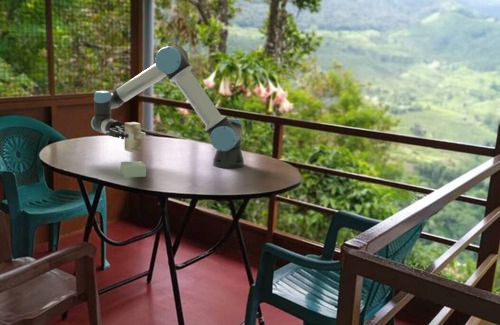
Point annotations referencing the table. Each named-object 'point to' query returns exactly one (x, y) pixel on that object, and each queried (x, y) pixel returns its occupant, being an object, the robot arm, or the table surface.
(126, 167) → the sage block
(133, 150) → the birch block
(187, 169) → the table surface
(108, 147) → the table surface
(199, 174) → the table surface
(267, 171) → the table surface
